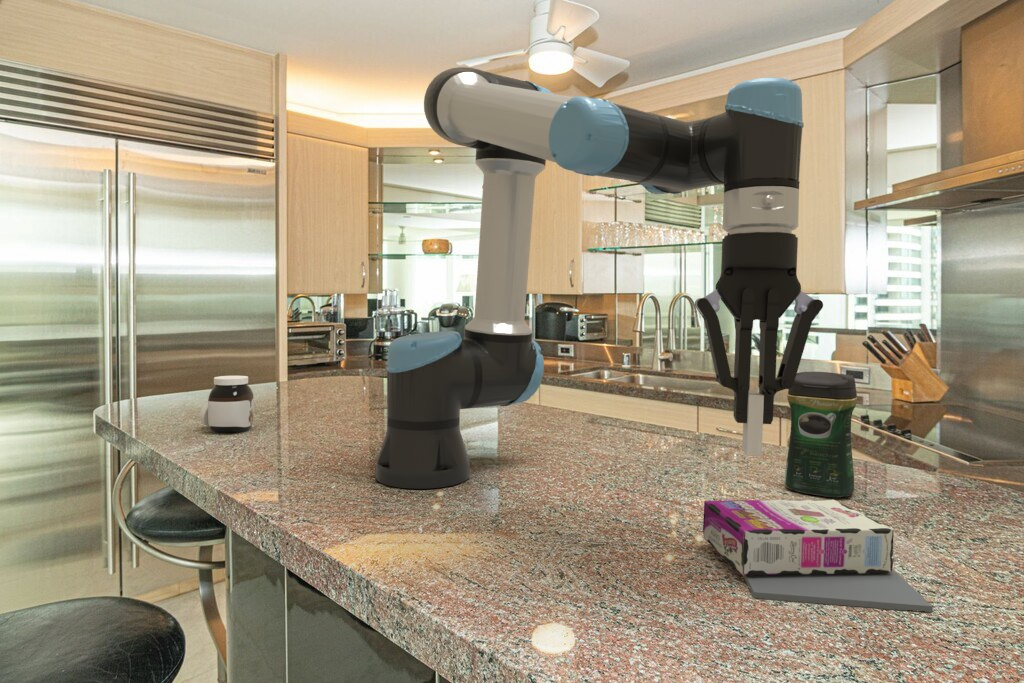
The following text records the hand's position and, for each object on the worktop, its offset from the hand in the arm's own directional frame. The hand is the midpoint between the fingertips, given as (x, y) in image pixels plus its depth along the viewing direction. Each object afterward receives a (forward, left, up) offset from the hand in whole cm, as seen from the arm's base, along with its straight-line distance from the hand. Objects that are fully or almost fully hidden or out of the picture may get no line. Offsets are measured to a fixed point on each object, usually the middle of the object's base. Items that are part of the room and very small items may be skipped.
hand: (751, 453), depth 70 cm
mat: (+7, 0, -13) cm, 14 cm away
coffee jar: (+17, +33, -13) cm, 39 cm away
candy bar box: (-3, +1, -10) cm, 10 cm away
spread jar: (-98, +56, -13) cm, 113 cm away
